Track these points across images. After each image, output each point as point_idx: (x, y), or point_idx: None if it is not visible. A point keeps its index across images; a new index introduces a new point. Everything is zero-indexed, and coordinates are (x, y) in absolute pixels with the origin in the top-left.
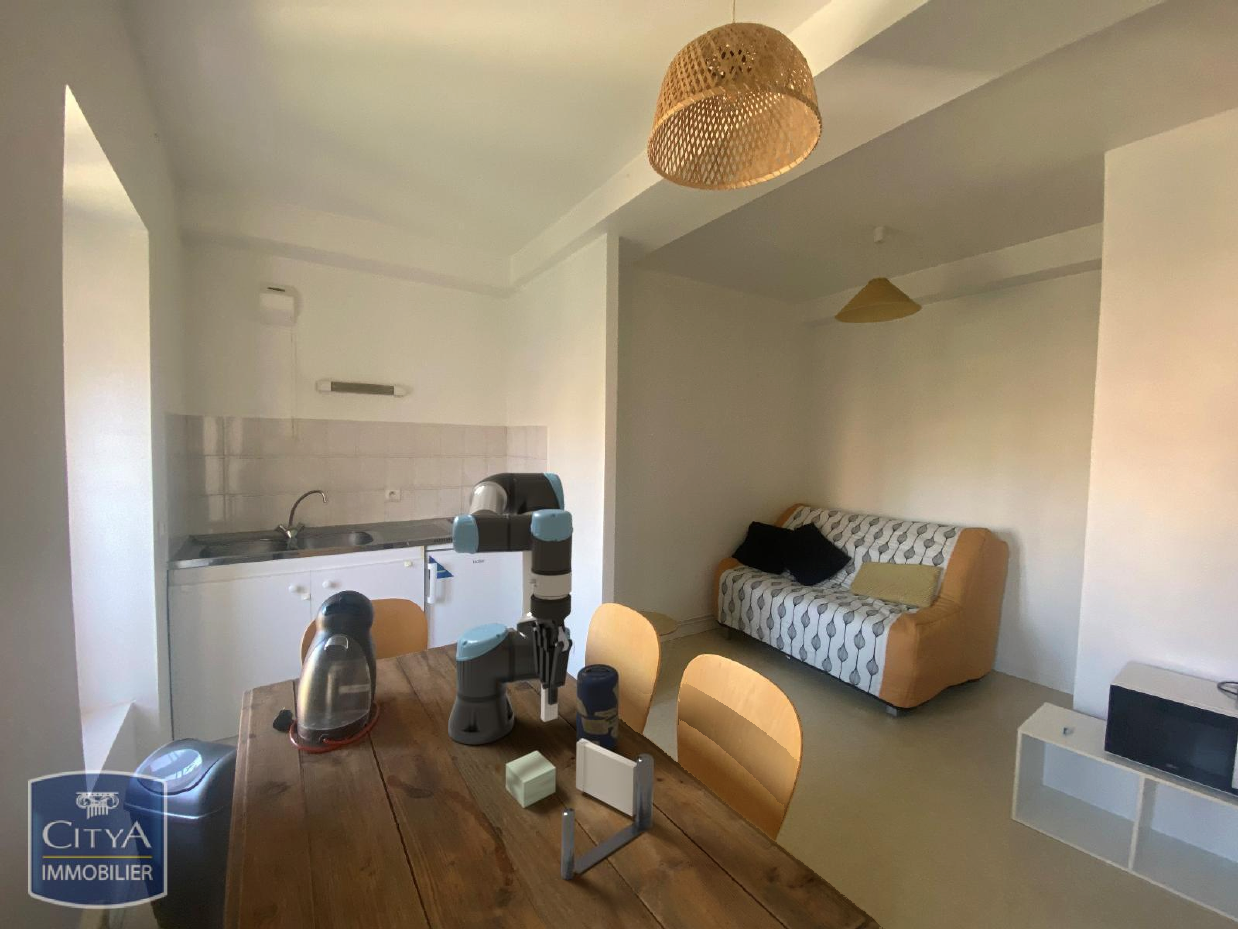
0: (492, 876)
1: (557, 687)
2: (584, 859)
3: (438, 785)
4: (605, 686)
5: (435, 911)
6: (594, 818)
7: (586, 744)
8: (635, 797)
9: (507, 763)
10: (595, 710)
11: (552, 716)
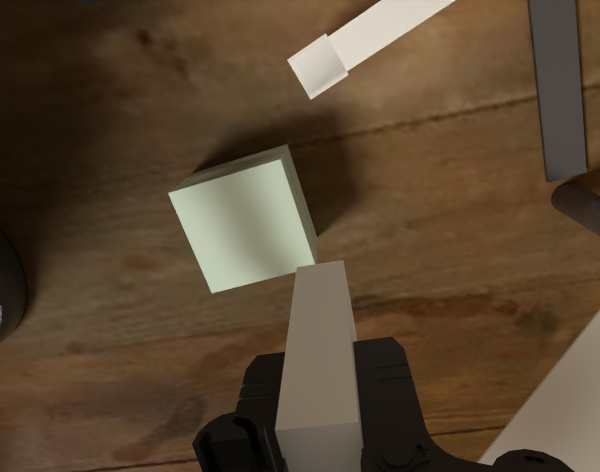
0: (479, 331)
1: (437, 448)
2: (559, 149)
3: (172, 386)
4: None
5: (498, 416)
6: (437, 68)
7: (343, 59)
8: None
9: (210, 289)
10: None
11: (349, 298)
